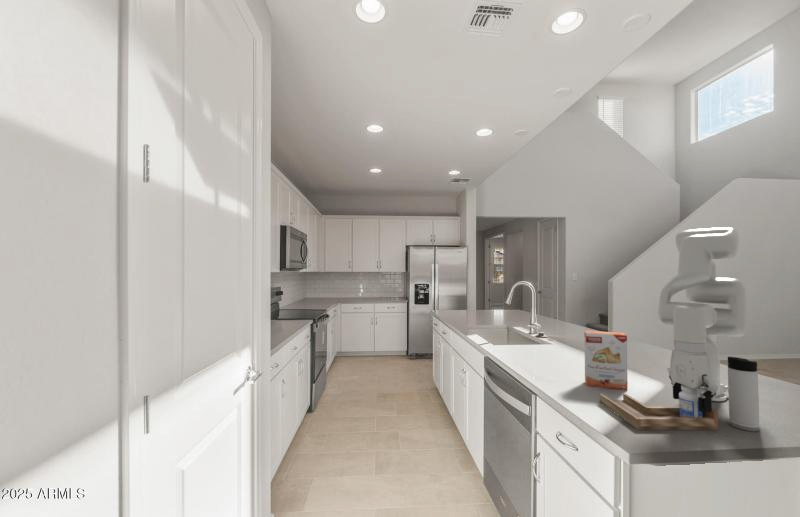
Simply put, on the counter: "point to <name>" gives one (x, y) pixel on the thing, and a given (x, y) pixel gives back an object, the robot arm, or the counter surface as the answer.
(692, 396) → the pill bottle
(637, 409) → the channel track
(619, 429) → the counter surface
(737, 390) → the travel mug
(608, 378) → the cracker box
